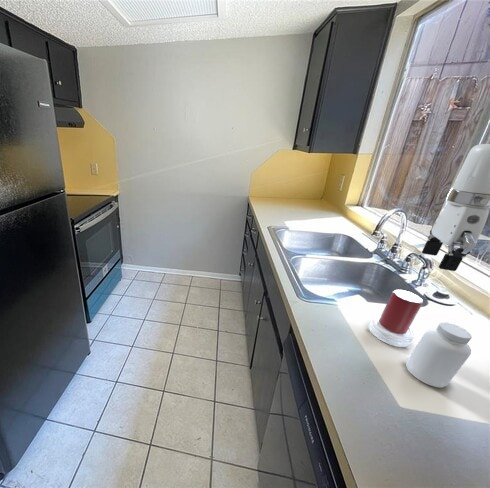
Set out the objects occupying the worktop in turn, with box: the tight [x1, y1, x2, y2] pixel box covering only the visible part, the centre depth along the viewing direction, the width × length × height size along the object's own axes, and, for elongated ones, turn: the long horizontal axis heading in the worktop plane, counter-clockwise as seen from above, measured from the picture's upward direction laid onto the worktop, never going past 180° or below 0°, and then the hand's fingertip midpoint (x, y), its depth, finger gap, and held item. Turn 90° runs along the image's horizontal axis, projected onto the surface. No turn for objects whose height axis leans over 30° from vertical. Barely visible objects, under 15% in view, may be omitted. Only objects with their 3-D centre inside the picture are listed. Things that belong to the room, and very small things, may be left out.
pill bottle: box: [405, 322, 472, 388], centre depth 63 cm, size 8×8×15 cm
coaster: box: [368, 315, 415, 348], centre depth 78 cm, size 10×10×4 cm
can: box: [379, 289, 424, 334], centre depth 75 cm, size 7×7×11 cm
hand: (437, 261), depth 69 cm, fingers open, 9 cm apart
